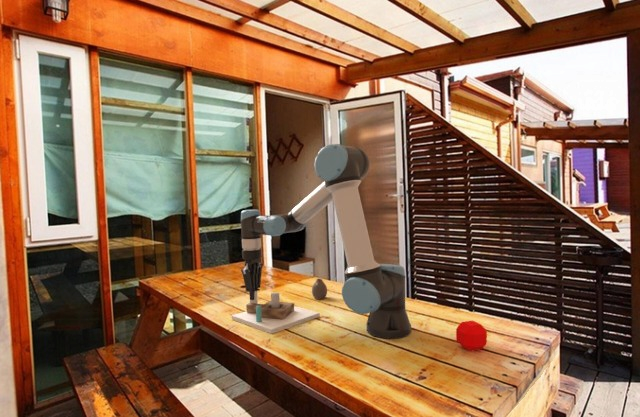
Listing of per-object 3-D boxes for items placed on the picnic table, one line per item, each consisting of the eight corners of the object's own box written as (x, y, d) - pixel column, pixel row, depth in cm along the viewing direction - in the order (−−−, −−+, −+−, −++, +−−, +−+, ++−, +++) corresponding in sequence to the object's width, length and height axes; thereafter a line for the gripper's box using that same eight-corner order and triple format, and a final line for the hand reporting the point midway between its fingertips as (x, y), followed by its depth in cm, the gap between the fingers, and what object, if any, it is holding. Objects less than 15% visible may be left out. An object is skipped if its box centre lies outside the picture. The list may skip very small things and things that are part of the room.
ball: (491, 351, 117) (491, 325, 117) (468, 354, 115) (468, 329, 115) (473, 341, 125) (473, 317, 125) (452, 344, 123) (452, 320, 122)
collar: (294, 310, 156) (294, 303, 156) (283, 319, 146) (282, 311, 145) (254, 307, 161) (254, 300, 161) (241, 315, 151) (240, 307, 151)
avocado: (325, 300, 175) (325, 281, 175) (310, 300, 176) (310, 280, 176) (328, 296, 182) (328, 277, 181) (314, 296, 183) (313, 277, 183)
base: (319, 316, 153) (319, 292, 153) (271, 333, 136) (270, 306, 135) (279, 305, 169) (278, 283, 169) (231, 319, 152) (231, 295, 152)
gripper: (251, 245, 163) (254, 301, 165) (234, 251, 151) (236, 311, 153) (267, 246, 160) (270, 303, 162) (251, 251, 149) (253, 313, 150)
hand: (253, 307), depth 157 cm, fingers closed
